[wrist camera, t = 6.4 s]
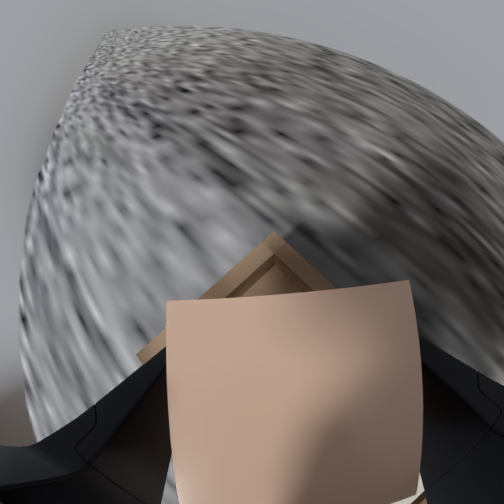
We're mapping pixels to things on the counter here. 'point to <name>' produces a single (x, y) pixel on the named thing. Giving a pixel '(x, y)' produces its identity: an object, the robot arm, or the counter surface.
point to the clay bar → (296, 397)
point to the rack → (262, 285)
